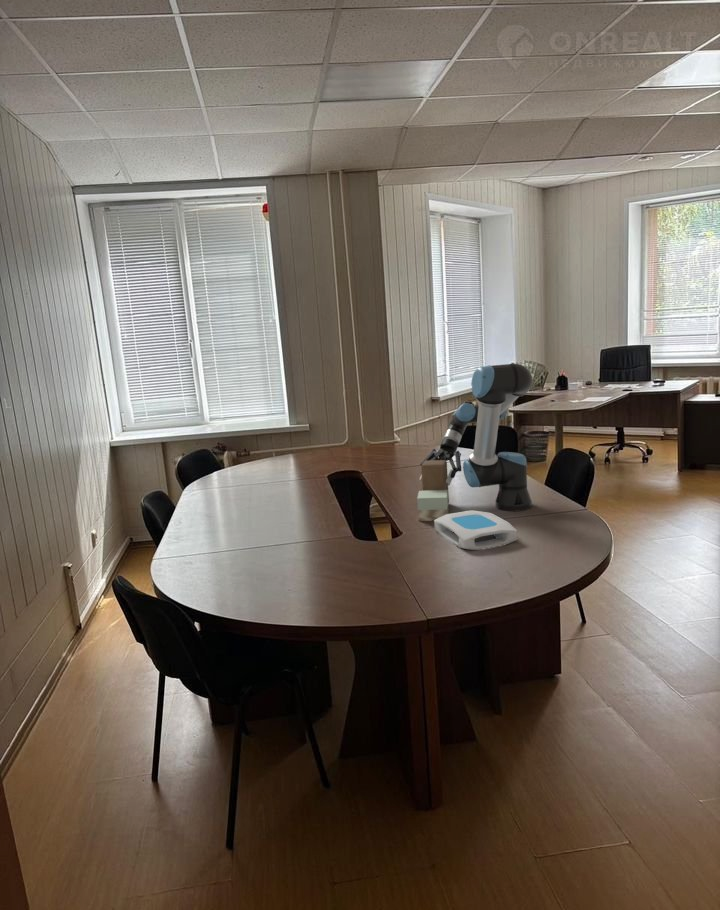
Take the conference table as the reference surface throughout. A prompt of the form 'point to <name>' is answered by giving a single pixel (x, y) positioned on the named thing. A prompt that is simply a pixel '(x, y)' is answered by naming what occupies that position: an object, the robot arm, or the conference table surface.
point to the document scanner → (475, 529)
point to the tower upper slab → (432, 500)
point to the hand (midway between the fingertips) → (434, 482)
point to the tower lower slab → (431, 514)
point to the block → (434, 475)
